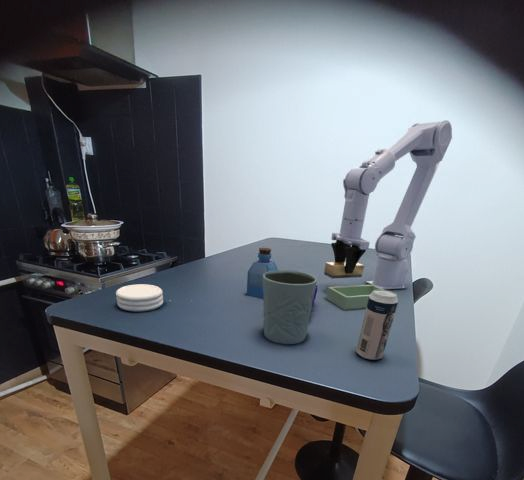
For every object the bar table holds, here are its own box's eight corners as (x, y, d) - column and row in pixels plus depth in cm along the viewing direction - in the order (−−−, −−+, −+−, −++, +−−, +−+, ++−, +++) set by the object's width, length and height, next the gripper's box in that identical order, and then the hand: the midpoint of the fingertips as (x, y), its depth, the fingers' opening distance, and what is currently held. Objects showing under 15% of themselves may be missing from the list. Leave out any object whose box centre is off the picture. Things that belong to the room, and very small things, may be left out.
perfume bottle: (276, 293, 88) (280, 248, 82) (267, 299, 83) (270, 252, 77) (257, 289, 90) (259, 245, 85) (246, 294, 85) (248, 248, 80)
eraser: (352, 273, 94) (354, 261, 93) (361, 277, 91) (364, 265, 89) (323, 274, 91) (325, 262, 89) (332, 278, 87) (334, 266, 86)
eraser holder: (370, 295, 92) (372, 284, 91) (390, 305, 85) (393, 294, 84) (325, 298, 87) (327, 287, 85) (344, 309, 80) (346, 297, 78)
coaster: (146, 294, 80) (144, 281, 78) (172, 304, 75) (171, 290, 73) (108, 304, 73) (106, 289, 71) (135, 316, 68) (133, 300, 66)
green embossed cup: (307, 349, 59) (316, 286, 54) (254, 341, 61) (258, 280, 55) (309, 328, 68) (317, 272, 63) (263, 322, 69) (267, 267, 64)
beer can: (383, 363, 56) (402, 299, 51) (356, 359, 57) (371, 295, 52) (380, 351, 61) (397, 290, 55) (355, 347, 61) (369, 287, 56)
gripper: (325, 216, 88) (318, 264, 95) (357, 223, 77) (346, 278, 83) (346, 216, 91) (338, 264, 97) (380, 223, 79) (368, 277, 85)
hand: (343, 270), depth 90 cm, fingers closed on eraser, 4 cm apart
